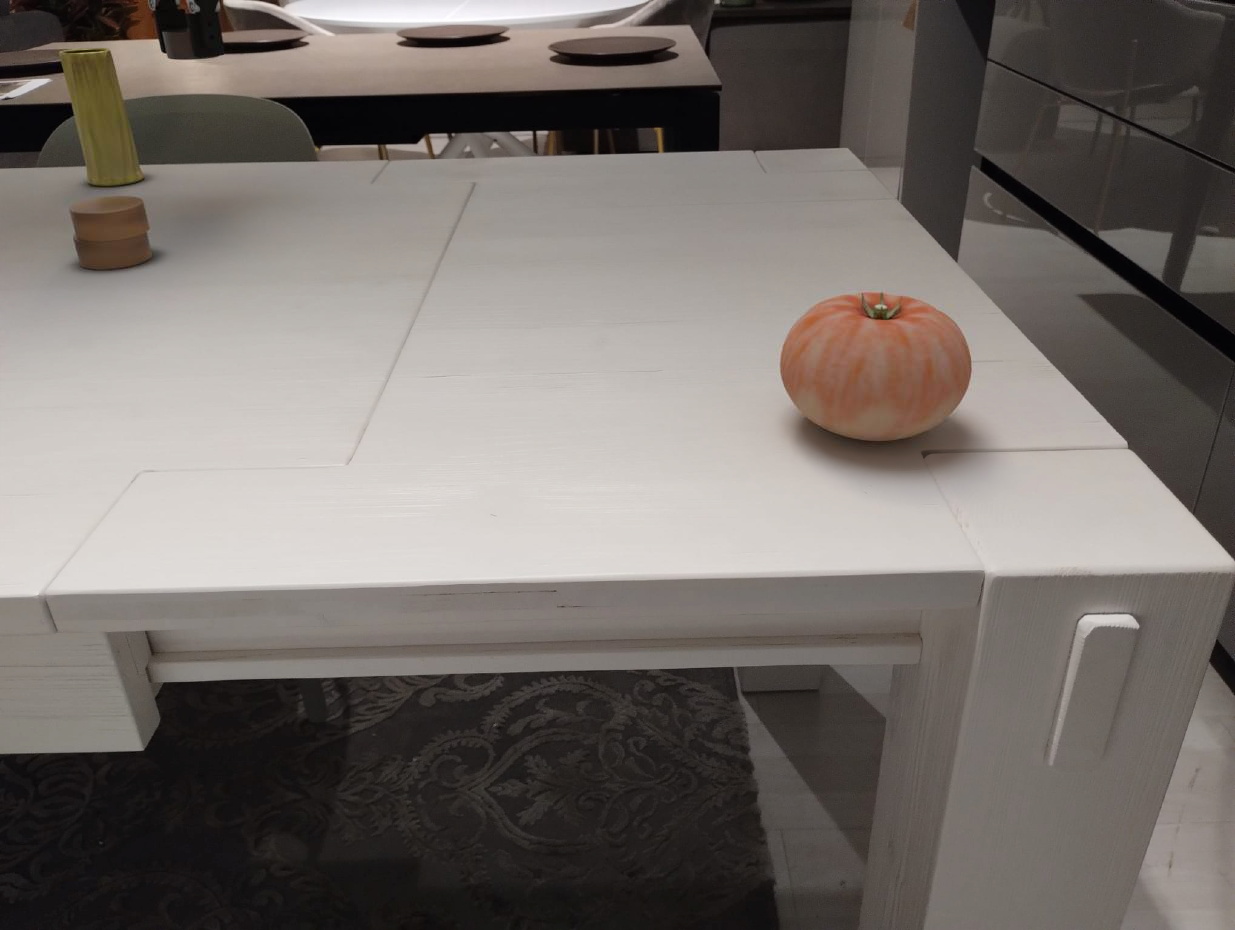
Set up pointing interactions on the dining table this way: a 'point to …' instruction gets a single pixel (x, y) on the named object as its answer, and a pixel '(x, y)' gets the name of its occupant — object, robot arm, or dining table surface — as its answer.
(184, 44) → the walnut chip
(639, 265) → the dining table surface
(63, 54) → the vase
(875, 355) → the tomato
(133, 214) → the pile chip top
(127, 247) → the pile chip bottom
